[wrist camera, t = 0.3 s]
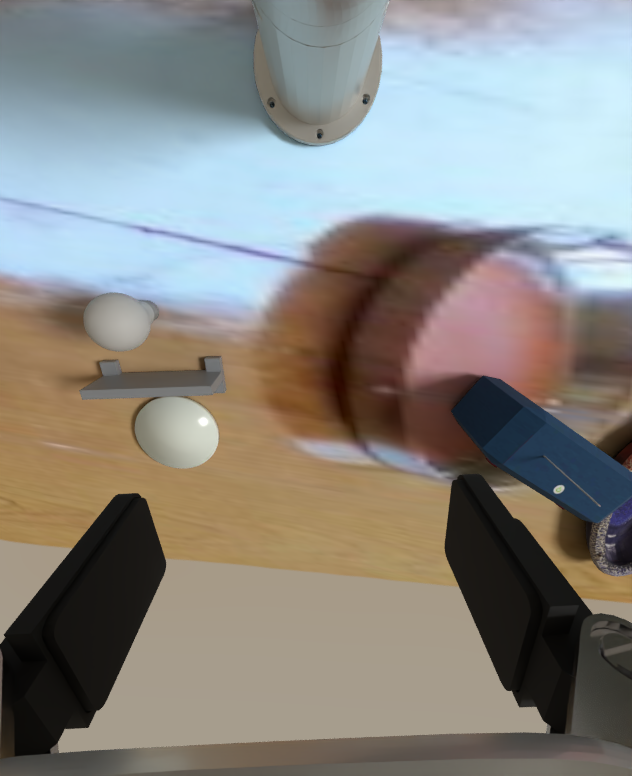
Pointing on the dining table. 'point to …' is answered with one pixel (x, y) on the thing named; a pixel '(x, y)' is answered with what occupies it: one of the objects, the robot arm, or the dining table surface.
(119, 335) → the lightbulb
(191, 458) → the white round dome
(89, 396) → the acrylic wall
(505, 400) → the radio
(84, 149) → the dining table surface
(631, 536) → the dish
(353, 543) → the dining table surface
